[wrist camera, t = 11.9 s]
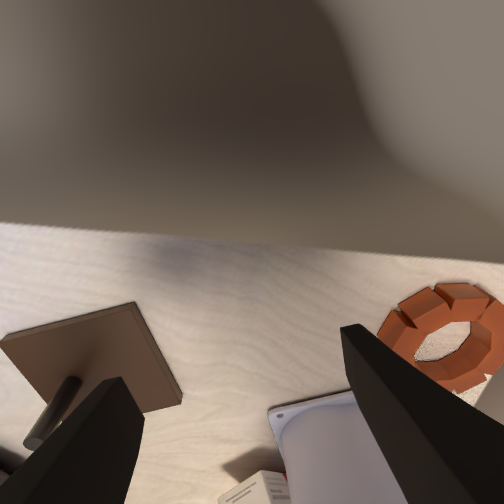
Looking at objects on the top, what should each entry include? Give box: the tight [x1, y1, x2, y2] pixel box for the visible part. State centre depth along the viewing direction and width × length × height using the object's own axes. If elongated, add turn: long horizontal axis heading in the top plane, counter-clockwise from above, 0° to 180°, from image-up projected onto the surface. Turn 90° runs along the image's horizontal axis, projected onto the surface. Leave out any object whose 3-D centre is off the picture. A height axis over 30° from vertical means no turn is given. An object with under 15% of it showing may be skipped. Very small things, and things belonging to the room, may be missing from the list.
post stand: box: [0, 303, 183, 451], centre depth 18 cm, size 9×9×5 cm
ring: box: [377, 283, 504, 394], centre depth 20 cm, size 9×9×2 cm
